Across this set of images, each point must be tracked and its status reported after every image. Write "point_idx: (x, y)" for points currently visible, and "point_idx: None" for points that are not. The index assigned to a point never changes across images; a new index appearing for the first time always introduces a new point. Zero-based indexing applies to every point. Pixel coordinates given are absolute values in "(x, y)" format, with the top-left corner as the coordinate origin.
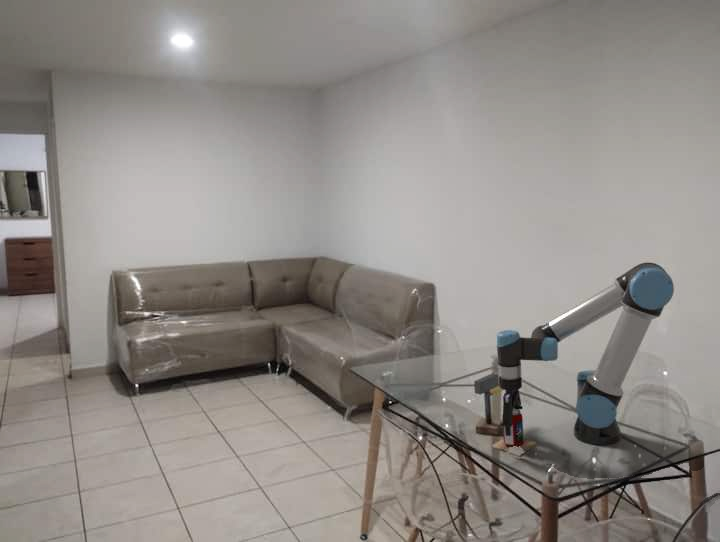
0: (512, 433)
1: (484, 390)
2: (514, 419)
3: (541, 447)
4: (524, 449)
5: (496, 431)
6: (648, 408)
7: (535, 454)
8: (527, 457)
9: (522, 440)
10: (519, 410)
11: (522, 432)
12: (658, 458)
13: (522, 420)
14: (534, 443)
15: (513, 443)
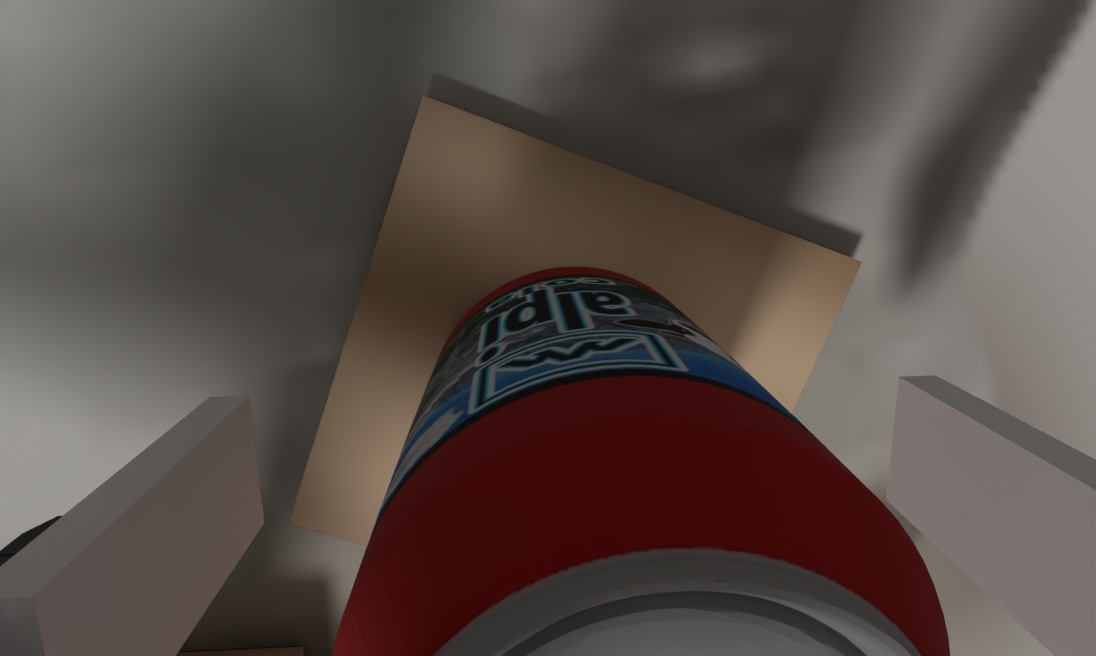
0: (1080, 455)
1: None
2: (932, 593)
3: (500, 7)
4: (690, 225)
5: None
6: None
7: (747, 56)
8: (858, 148)
9: (622, 281)
10: (24, 609)
11: (631, 305)
12: None
13: (621, 373)
14: (455, 121)
15: (909, 378)
